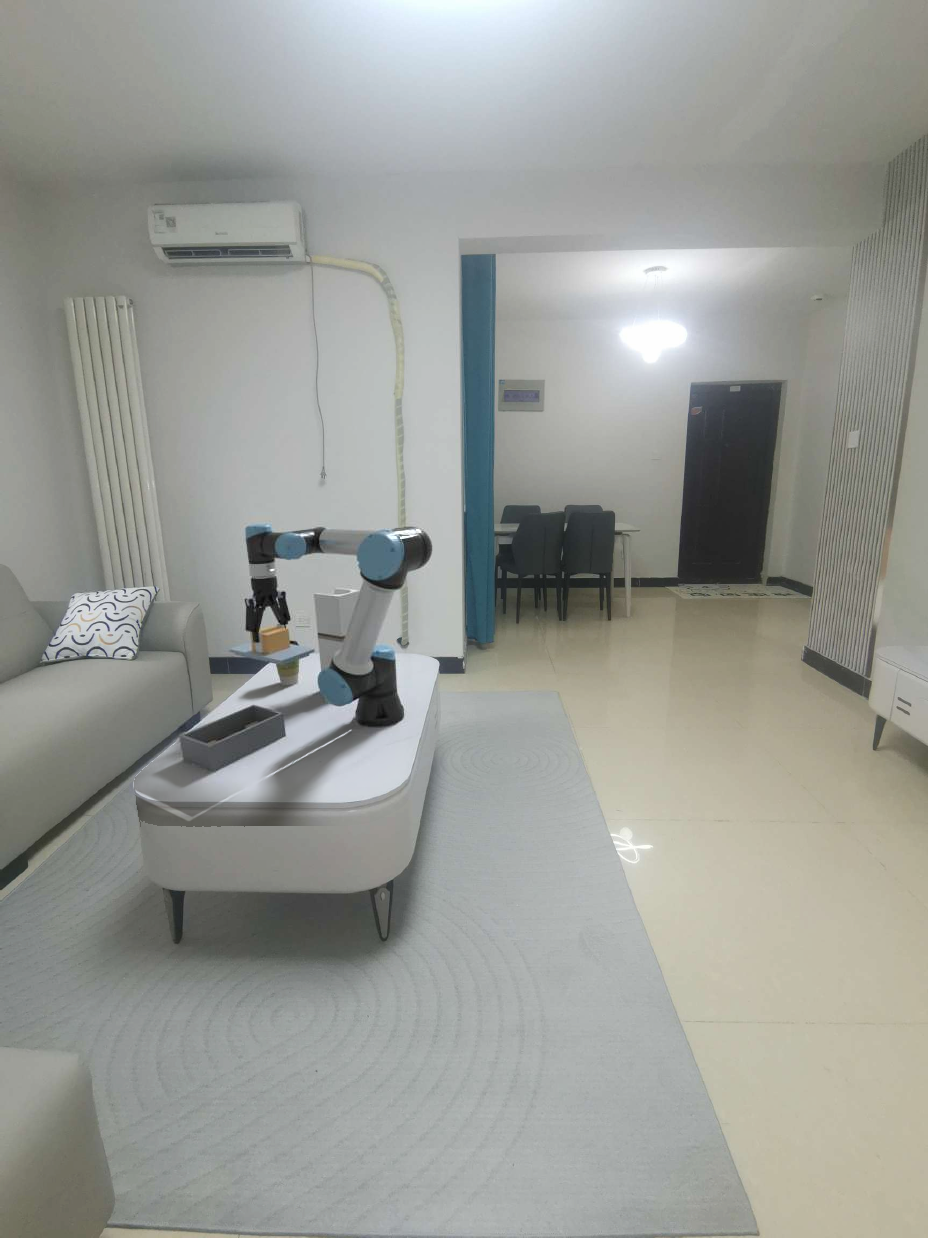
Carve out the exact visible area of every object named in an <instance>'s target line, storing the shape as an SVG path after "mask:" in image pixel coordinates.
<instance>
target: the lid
mask: <svg viewBox="0 0 928 1238" xmlns="http://www.w3.org/2000/svg"><path fill="white" fill-rule="evenodd" d="M259 631H260V632H262V639H263V648H264V653H259V652H256V646H255V642H253V636H252V632H250V640H251V641H249V642H247V643H244V644H241V645H237V646H233V647H231V648H229V649H228V653H232V654H235V655H236V656H240V657H244V658H248V659H249V658H250V659H252V660H257V661H262V662H266V663H271V664H275V665H276V664H279V665H285V664H288V663H290V662H293V661H296V660H299V661H300V660H301V659H304V658H307V657H309V656H310V654H313V653H316V651H315V648H312V647H307V646H301V645H299V646H297V645H292V644H290V641H291V640H290V632H289V628H287V627H286V628H280V627H277V626H273V625H269V626H267V627H262V628H260V630H259Z"/></svg>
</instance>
